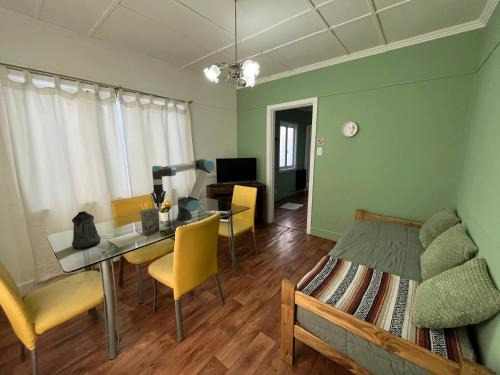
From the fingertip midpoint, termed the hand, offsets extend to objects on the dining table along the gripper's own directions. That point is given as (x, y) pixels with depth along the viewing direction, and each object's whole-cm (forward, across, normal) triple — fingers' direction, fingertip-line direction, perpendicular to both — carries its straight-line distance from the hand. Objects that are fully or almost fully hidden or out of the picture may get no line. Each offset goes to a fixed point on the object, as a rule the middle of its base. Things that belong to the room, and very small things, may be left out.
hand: (159, 210), depth 180 cm
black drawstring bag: (+17, +50, -12) cm, 54 cm away
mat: (+17, +27, 0) cm, 32 cm away
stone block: (+17, +9, 0) cm, 19 cm away
